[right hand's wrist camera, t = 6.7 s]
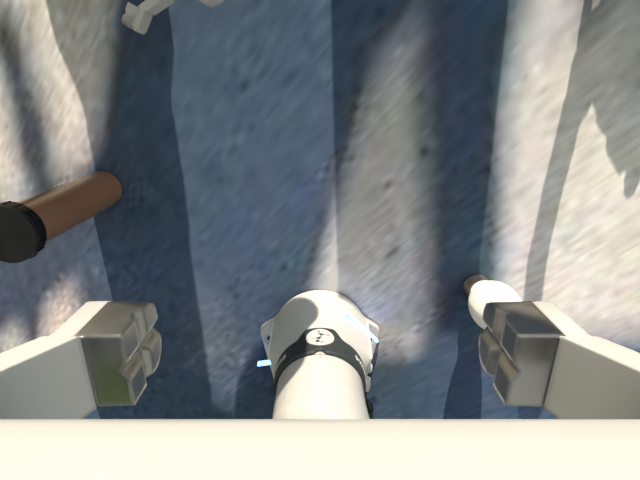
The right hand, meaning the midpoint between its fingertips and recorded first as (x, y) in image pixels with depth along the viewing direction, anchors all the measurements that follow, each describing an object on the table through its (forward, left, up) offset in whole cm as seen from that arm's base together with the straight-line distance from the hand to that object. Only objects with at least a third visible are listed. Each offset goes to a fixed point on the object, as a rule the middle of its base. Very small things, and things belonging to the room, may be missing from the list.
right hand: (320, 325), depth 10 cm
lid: (-8, +30, -29) cm, 43 cm away
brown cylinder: (-8, +30, -48) cm, 57 cm away
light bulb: (-23, -24, -48) cm, 58 cm away
